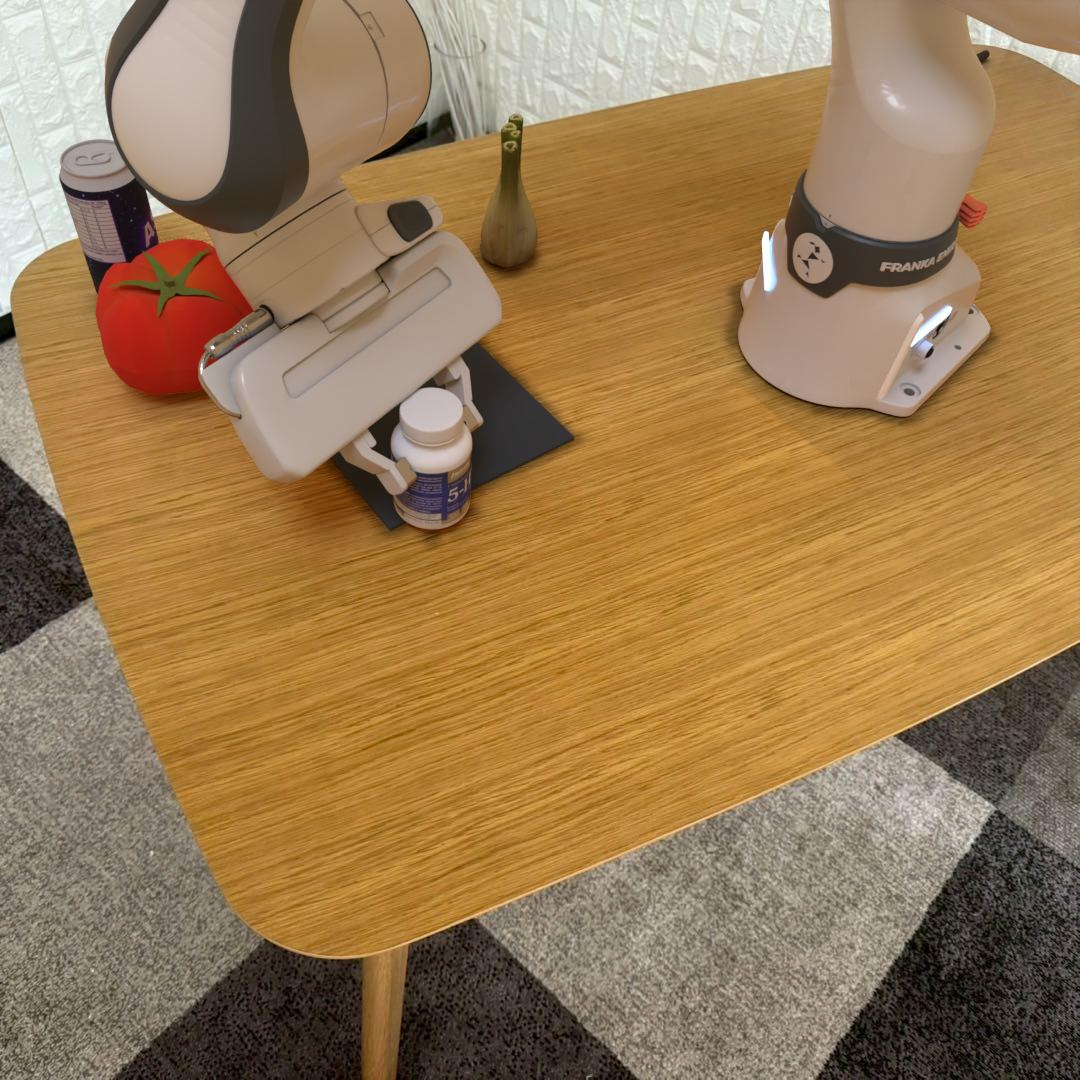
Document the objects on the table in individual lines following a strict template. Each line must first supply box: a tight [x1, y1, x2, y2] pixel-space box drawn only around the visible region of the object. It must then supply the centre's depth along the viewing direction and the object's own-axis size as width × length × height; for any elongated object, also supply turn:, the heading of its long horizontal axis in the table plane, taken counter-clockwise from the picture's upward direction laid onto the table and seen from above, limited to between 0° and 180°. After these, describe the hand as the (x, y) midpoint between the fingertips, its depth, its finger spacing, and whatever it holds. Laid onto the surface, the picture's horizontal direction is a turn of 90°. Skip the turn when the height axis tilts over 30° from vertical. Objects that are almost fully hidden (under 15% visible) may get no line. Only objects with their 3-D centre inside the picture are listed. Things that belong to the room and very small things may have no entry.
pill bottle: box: [391, 388, 472, 530], centre depth 67 cm, size 5×5×9 cm
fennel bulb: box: [479, 113, 539, 268], centre depth 85 cm, size 6×5×12 cm
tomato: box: [95, 237, 254, 397], centre depth 75 cm, size 13×12×8 cm
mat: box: [330, 341, 575, 532], centre depth 76 cm, size 16×14×1 cm
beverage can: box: [58, 138, 160, 295], centre depth 78 cm, size 6×6×12 cm
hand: (439, 458), depth 66 cm, fingers closed on pill bottle, 5 cm apart
